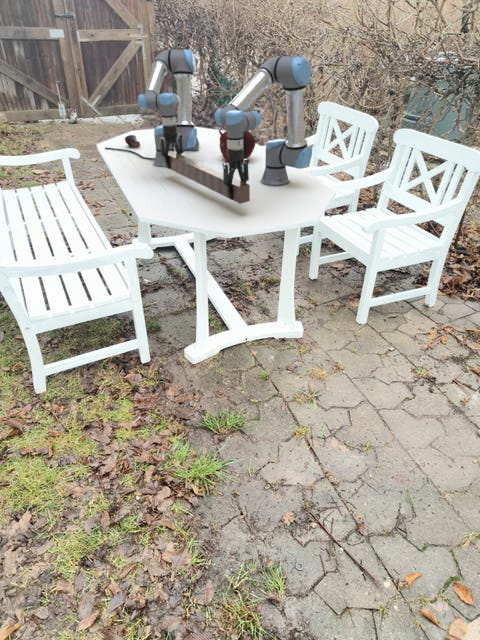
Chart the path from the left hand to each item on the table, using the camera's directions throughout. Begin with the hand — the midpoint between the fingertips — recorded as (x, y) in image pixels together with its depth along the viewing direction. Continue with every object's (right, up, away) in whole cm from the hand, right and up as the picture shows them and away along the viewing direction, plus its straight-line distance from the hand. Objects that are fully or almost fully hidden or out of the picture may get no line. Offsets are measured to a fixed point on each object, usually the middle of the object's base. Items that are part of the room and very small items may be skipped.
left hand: (173, 167), depth 261 cm
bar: (+19, -15, -21) cm, 32 cm away
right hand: (+37, -29, -43) cm, 64 cm away
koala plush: (0, +36, +66) cm, 75 cm away
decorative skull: (+37, +19, +40) cm, 58 cm away
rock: (-41, +39, +71) cm, 91 cm away
